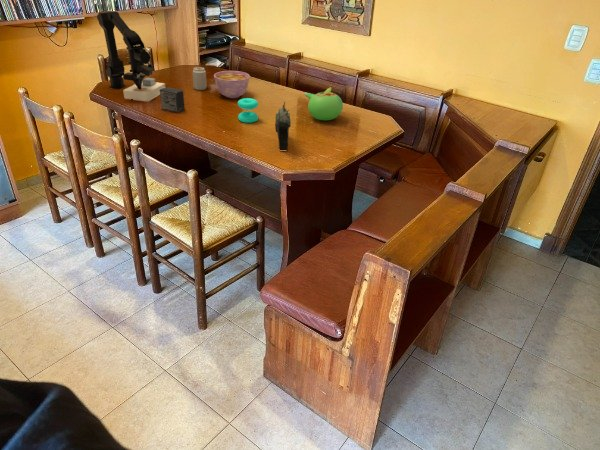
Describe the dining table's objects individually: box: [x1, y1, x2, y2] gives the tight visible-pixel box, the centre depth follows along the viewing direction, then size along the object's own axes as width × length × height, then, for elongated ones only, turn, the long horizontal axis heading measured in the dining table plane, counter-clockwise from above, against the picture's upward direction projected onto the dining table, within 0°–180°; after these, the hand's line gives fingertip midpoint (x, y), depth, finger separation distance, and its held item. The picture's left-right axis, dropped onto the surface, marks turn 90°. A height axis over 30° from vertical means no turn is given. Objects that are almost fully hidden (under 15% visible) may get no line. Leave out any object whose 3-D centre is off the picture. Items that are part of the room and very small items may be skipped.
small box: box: [159, 86, 186, 114], centre depth 230 cm, size 11×6×10 cm, turn 65°
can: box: [192, 66, 208, 91], centre depth 261 cm, size 8×8×12 cm
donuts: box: [237, 97, 259, 124], centre depth 223 cm, size 10×10×10 cm
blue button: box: [142, 77, 156, 86], centre depth 251 cm, size 5×5×4 cm
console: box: [122, 81, 166, 102], centre depth 249 cm, size 14×20×4 cm
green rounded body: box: [303, 86, 344, 121], centre depth 229 cm, size 18×17×15 cm
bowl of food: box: [213, 70, 251, 99], centre depth 253 cm, size 20×20×12 cm
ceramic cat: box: [274, 101, 292, 151], centre depth 197 cm, size 20×6×20 cm, turn 5°
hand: (139, 89), depth 243 cm, fingers closed, pressing on orange button
